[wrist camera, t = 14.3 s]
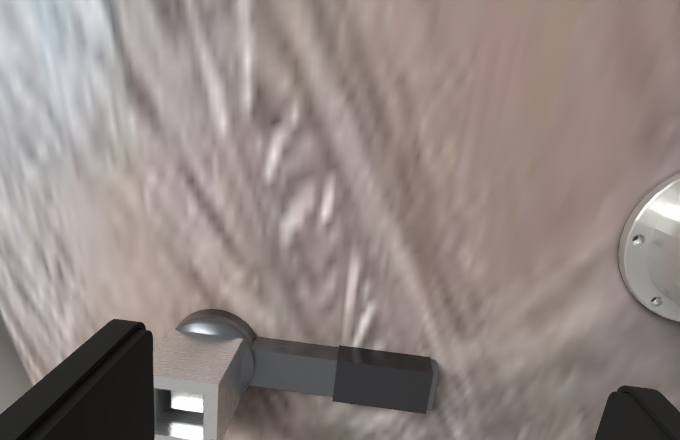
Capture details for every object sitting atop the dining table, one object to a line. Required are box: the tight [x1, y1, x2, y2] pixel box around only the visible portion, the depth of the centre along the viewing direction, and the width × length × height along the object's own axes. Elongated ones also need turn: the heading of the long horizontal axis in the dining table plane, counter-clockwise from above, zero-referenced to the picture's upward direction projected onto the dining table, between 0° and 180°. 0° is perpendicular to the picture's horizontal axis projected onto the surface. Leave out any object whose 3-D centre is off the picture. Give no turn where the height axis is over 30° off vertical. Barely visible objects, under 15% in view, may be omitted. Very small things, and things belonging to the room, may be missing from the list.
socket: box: [153, 329, 243, 440], centre depth 34 cm, size 6×6×6 cm
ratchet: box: [171, 309, 439, 414], centre depth 36 cm, size 24×8×6 cm, turn 84°
